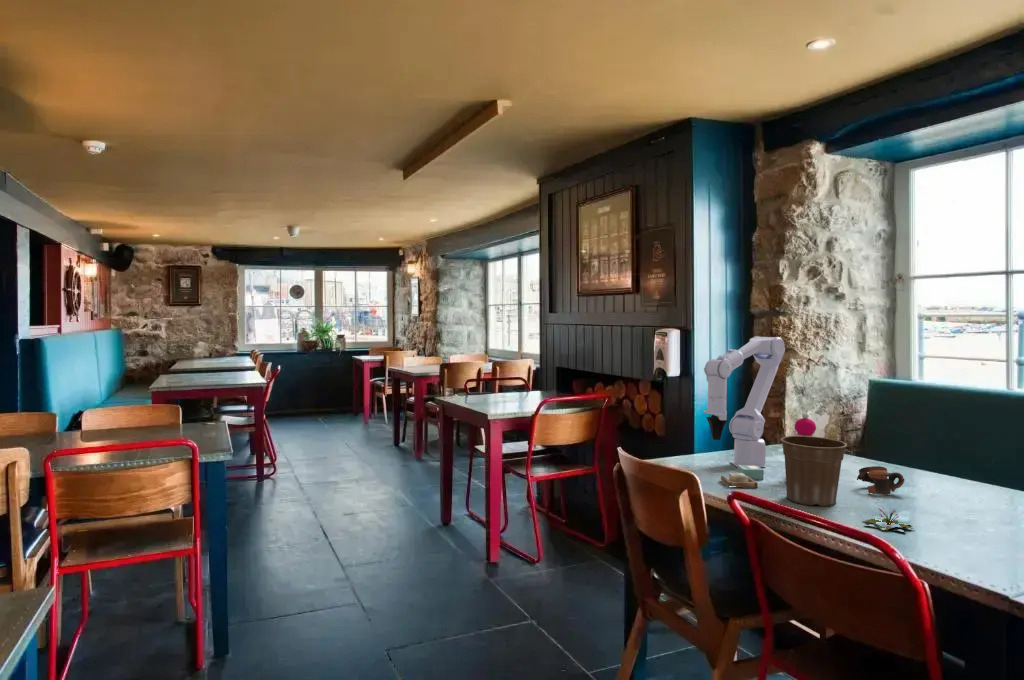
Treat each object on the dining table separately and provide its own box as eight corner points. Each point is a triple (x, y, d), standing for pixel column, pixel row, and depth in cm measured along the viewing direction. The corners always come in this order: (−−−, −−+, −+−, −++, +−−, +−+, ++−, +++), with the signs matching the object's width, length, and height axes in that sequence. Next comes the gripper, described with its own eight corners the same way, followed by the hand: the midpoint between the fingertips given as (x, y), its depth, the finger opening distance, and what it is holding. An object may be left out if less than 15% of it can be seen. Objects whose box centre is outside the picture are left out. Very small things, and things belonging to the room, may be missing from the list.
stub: (742, 482, 205) (742, 472, 205) (748, 487, 200) (748, 476, 200) (728, 482, 205) (728, 472, 205) (734, 487, 200) (734, 476, 200)
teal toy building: (756, 475, 214) (756, 465, 214) (763, 479, 208) (763, 469, 208) (737, 474, 214) (737, 464, 214) (743, 479, 208) (743, 469, 208)
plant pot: (854, 501, 185) (856, 441, 185) (831, 513, 174) (832, 449, 173) (794, 489, 197) (796, 433, 196) (769, 500, 186) (770, 440, 185)
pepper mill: (791, 480, 208) (792, 414, 207) (791, 474, 215) (792, 411, 214) (817, 482, 205) (819, 415, 205) (816, 477, 212) (818, 412, 211)
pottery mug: (856, 495, 193) (852, 466, 197) (864, 503, 200) (859, 476, 204) (904, 490, 187) (898, 461, 191) (911, 499, 193) (905, 470, 197)
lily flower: (912, 540, 155) (912, 519, 155) (854, 529, 163) (854, 510, 162) (921, 527, 164) (922, 508, 164) (866, 517, 172) (866, 499, 172)
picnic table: (748, 481, 206) (748, 476, 206) (757, 488, 198) (757, 483, 198) (720, 480, 207) (721, 475, 207) (729, 487, 198) (729, 482, 198)
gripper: (698, 394, 227) (698, 435, 227) (710, 399, 212) (709, 443, 213) (720, 394, 227) (719, 435, 227) (733, 400, 212) (732, 443, 213)
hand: (716, 439), depth 220 cm, fingers closed
